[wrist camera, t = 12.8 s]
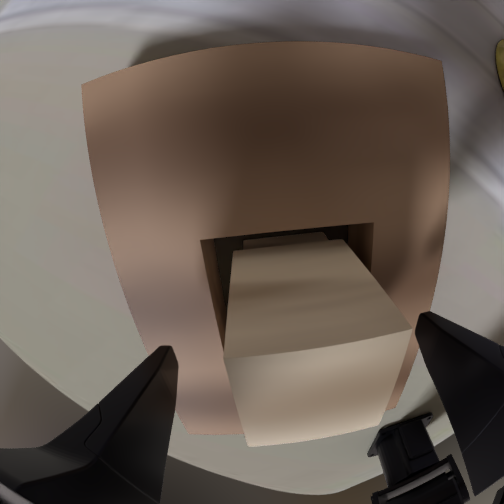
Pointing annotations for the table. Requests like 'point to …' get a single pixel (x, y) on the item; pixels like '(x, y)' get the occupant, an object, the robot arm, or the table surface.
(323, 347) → the peg
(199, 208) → the board
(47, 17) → the table surface
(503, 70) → the vase
